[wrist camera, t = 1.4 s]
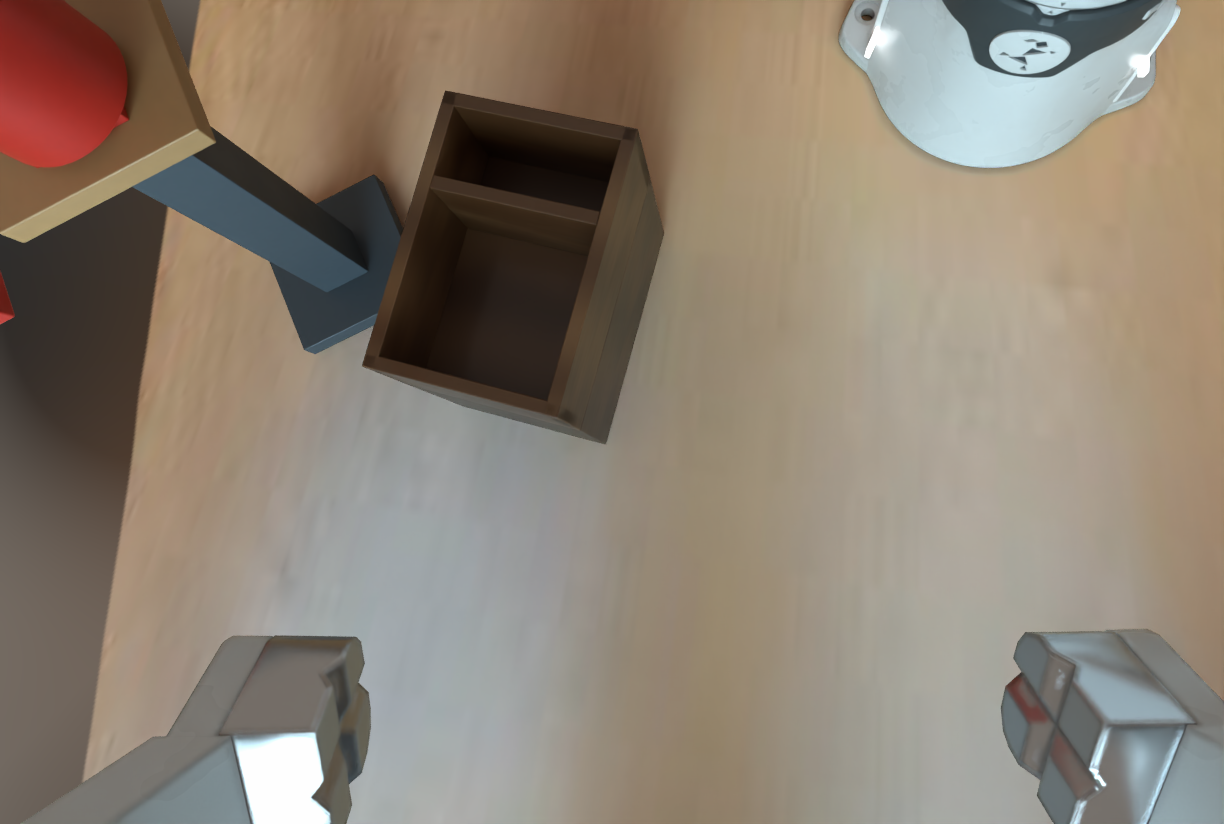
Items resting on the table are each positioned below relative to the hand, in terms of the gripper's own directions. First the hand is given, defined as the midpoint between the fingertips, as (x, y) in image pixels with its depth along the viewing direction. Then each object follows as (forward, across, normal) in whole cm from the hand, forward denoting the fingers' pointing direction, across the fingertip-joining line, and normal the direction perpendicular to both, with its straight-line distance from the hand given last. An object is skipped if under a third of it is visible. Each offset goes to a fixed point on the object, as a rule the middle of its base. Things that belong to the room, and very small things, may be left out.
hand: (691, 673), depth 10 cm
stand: (+49, +17, +8) cm, 52 cm away
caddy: (+44, +3, +10) cm, 46 cm away
